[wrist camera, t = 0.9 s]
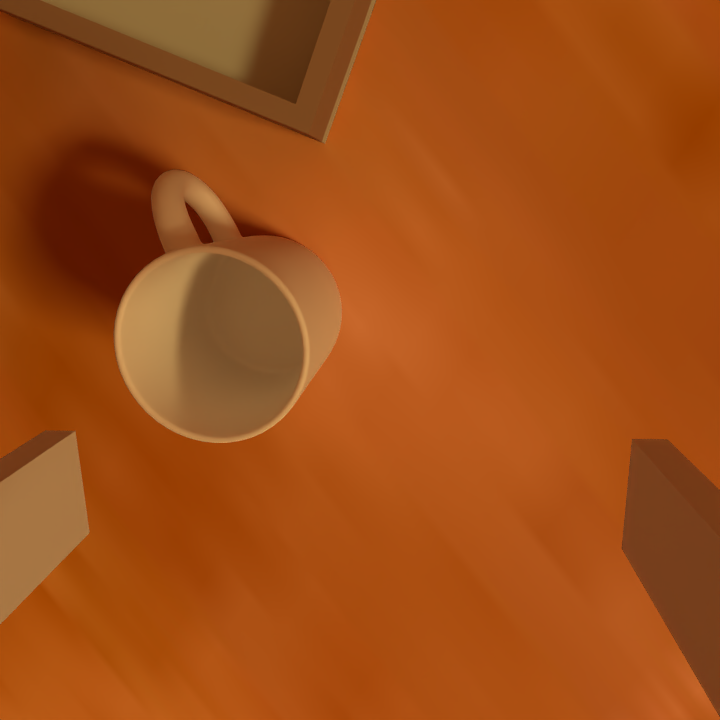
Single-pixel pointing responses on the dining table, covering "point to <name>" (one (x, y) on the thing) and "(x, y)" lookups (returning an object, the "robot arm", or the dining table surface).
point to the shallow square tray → (225, 48)
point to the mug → (222, 321)
